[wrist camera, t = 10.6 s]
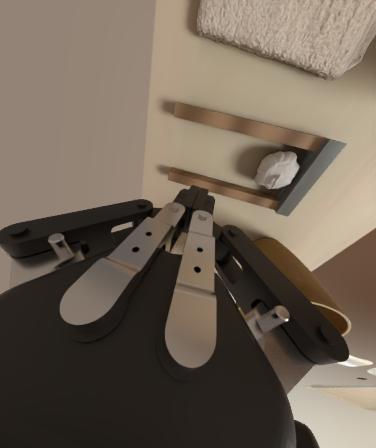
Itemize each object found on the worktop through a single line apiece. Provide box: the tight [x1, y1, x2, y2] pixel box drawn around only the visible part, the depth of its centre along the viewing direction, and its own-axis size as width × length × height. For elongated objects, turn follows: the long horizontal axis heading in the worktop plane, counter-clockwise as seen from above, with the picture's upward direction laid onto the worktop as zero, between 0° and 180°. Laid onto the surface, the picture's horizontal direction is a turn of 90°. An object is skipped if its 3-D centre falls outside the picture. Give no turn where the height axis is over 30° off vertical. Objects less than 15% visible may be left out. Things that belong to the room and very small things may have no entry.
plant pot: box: [236, 238, 351, 336], centre depth 28 cm, size 15×15×16 cm
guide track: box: [168, 102, 346, 216], centre depth 23 cm, size 22×11×4 cm, turn 80°
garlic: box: [255, 151, 299, 189], centre depth 21 cm, size 6×5×5 cm
